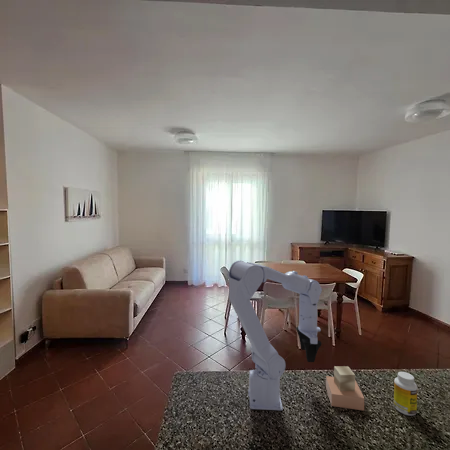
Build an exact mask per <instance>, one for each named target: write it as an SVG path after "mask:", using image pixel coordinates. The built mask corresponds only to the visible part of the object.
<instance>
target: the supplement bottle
mask: <svg viewBox="0 0 450 450" xmlns="http://www.w3.org/2000/svg"><path fill="white" fill-rule="evenodd" d="M393 386H394V387H393V407H394V408H395V409H396V411H398V412H400V413H401V414H403V415H405V416H411V417H413V416H416V414H417V413H418V385H417V384H416V382H415V377H414V375H412V374H410V373H409V372H406V371H398V372H397V377H395V378H394V381H393Z"/></svg>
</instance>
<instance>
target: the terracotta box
mask: <svg viewBox="0 0 450 450" xmlns="http://www.w3.org/2000/svg"><path fill="white" fill-rule="evenodd" d="M325 389H326V392H327V395H328V398H329V401H330V405H331V406H332V407H337V408H343V409H351V410H359V411H365V397H364V395H363V393H362V390H361V388H360V387H359V384H358V382H357V381H356V379H355V391H340V390H339V389H338V387H337V386H336V384H335V382H334V376H328V375H326V376H325Z"/></svg>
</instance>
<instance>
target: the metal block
mask: <svg viewBox="0 0 450 450" xmlns="http://www.w3.org/2000/svg"><path fill="white" fill-rule="evenodd" d="M333 377H334V382H335V384H336V386H337V387H338V389H339V390H340V391H355V380H356V374H355V373H354V372H353V371H352V369H351V368H350V367H349V366H348V365H347V366H345V365H343V366H338V365H337V366H335V365H334V367H333Z"/></svg>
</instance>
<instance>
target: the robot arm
mask: <svg viewBox="0 0 450 450" xmlns="http://www.w3.org/2000/svg"><path fill="white" fill-rule="evenodd" d="M226 275H227V277H228V281H229V285H228V286H229V287H228V289H229V290H228V299H229V303H230V304H231V305H232V308H233V310H234V311H235V314H236V316H237V318H238V320H239V322H240V324H241V327H242V329H243V331H244V333H245V334H246V337H247V339H248V341H249V343H250V346H249V349H250V351H251V360H252V362H253V363H254V364H255V367H254V368H255V369H250V370H249V373H248V374H249V376H248V380H249V381H248V389H247V393H248V394H247V396H248V397H249V409H250V410H263V411H264V410H265V411H266V410H268V411H283V410H284V408H283V404H282V399H281V394H280V392H281V391H280V390H281V389H280V388H281V381H280V380H281V377H282V376H283V374H284V372H285V370H286V361H285V359H284V358H283V357H282V356H281V355H279V352H278V351H277V349H275V347H274V346H273V345H272V343H271V342H270V341H269V338H268V335H267V334H266V332H265V329H264V327H263V325H262V323H261V321H260V319H259V316H258V315H257V312H256V311H255V308H254V306H253V304H252V302H251V299H252V297H253V296H254V295H255V293H256V292H257V291H258V290H259V288H260V286H261V285H262V283H266V282H267V280H270V281H273V282H276V283H279V284H281V285H282V288H284V289H285V290H287V291H290V292H294V293H295V294H296V293H297V294H298V295H299V299H298V300H299V301H298V302H299V305H298V307H299V309H298V310H299V311H298V326H297V327H295V330H296V331H297V335H298V339H299V346H300V348H301V350H302V351H305V357H306V361H307V363H315V361H316V356H317V354H318V352H319V349H320V348H321V346H322V342H321V340H318V338H319V337H318V333H319V332H321V328H320V327H319V326H318V303H319V301H320V296H321V294H322V292H323V291H322V290H323V288H322V287H321V286H322V285H321V284H320V283H319V281H318V280H315V279H312V278H309V277H308V275H303V274H302V275H301V274H299V272H298V271H296V270H292V271H286V272H285V273H283V272H281V271H278V270H276V269H274V268H272V267H269V266H267V265H263V264H258V263H255V262H250V261H249V262H248V261H247V262H245V261H243V260H236V261H234V262H233V263H232V264H231V265H230V268H229V270H228V271H227V274H226Z"/></svg>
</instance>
